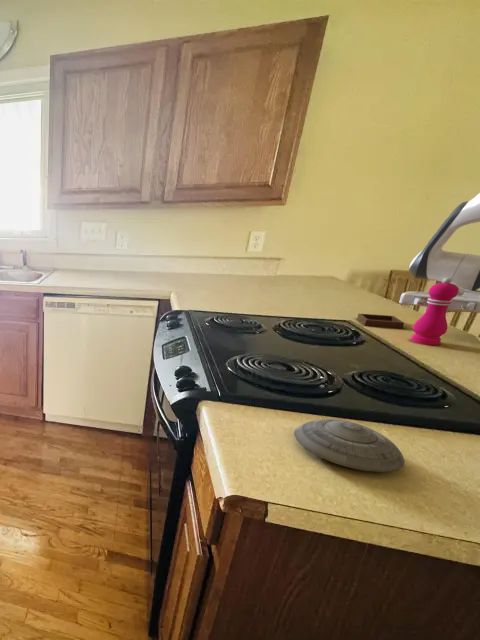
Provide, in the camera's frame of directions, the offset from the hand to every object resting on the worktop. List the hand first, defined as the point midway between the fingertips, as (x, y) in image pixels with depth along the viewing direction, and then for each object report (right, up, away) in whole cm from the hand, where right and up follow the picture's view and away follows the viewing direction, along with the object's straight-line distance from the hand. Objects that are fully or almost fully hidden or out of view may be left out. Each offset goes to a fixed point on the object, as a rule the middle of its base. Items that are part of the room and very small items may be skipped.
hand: (441, 305), depth 121 cm
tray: (+1, -4, +21) cm, 22 cm away
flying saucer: (-75, -34, -51) cm, 96 cm away
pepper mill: (-4, -11, +2) cm, 12 cm away
